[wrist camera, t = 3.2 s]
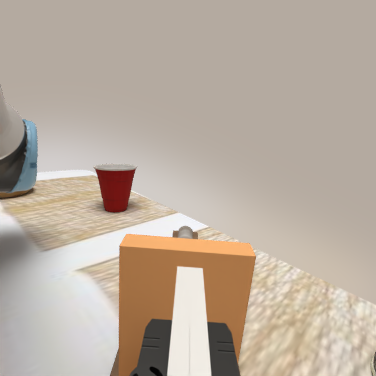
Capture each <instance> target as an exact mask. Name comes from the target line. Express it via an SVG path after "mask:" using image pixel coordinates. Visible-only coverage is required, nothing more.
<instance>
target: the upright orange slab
mask: <svg viewBox="0 0 376 376" xmlns="http://www.w3.org/2000/svg"><path fill="white" fill-rule="evenodd" d="M255 259H256V256H255V253H254V251H253V249H252V247H251V245H250V244H249V243H238V242H225V241H212V240H199V239H186V238H173V237H160V236H147V235H135V234H126V236H125V237H124V239H123V241H122V243H121V244H120V257H119V376H129V375H130V373H131V372H132V371H133V370H134V369H135V368H136V367H137V364H138V359H139V355H140V350H141V346H142V341H143V337H144V332H145V328H146V326H147V325H148V323H149V322H150V321H151V319H164V320H172V319H173V308H174V298H175V287H176V276H177V266H179V267H193V268H203V279H204V291H205V303H206V316H207V322H217V323H226V325H227V326H228V328H229V329H230V331H231V332H232V337H233V344H234V348H235V353H236V358H237V363H238V360H239V354H240V348H241V342H242V336H243V330H244V324H245V318H246V312H247V306H248V301H249V295H250V289H251V283H252V277H253V271H254V265H255Z"/></svg>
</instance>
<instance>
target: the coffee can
mask: <svg viewBox="0 0 376 376" xmlns="http://www.w3.org/2000/svg"><path fill="white" fill-rule="evenodd" d="M371 371H372V375H373V376H376V352H375V355H374V356H373V358H372V361H371Z"/></svg>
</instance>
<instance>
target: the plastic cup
mask: <svg viewBox="0 0 376 376" xmlns="http://www.w3.org/2000/svg"><path fill="white" fill-rule="evenodd" d="M94 168H95V170H96V172H97V175H98V179H99V184H100V189H101V195H102V198H103V203H104V208H105V210H106V211H108V212H122V211H125V210H126V209H127V206H128V201H129V197H130V192H131V186H132V181H133V177H134V173H135V170H136V168H137V166H135V165H127V164H102V165H95V166H94Z"/></svg>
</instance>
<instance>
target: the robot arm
mask: <svg viewBox="0 0 376 376" xmlns="http://www.w3.org/2000/svg"><path fill="white" fill-rule="evenodd" d="M36 163H37V129H36V126H35V124H34V123H33V122H31V121H27V120H25V119H22V118H21V116H20V115H19V113H18V112H17V111H16V110H15V109H14V108H13V107H12V106H11V105H10V104H8V103H7V102H5V101H4V97H3V93H2V89H1V86H0V192H6V193H13V192H15V191H26V190H29V189H31V188H32V187H33V186H34V185H35V182H36V176H37V164H36ZM129 376H240V373H239V368H238V363H237V358H236V353H235V348H234V344H233V337H232V332H231V331H230V329H229V328H228V326H227V325H226V323H217V322H207V316H206V303H205V291H204V279H203V268H193V267H179V266H177V276H176V287H175V298H174V308H173V319H172V320H164V319H151V321H150V322H149V323H148V325H147V326H146V328H145V332H144V337H143V341H142V346H141V350H140V355H139V359H138V364H137V367H136V368H135V369H134V370H133V371H132V372H131V373H130V375H129Z"/></svg>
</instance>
